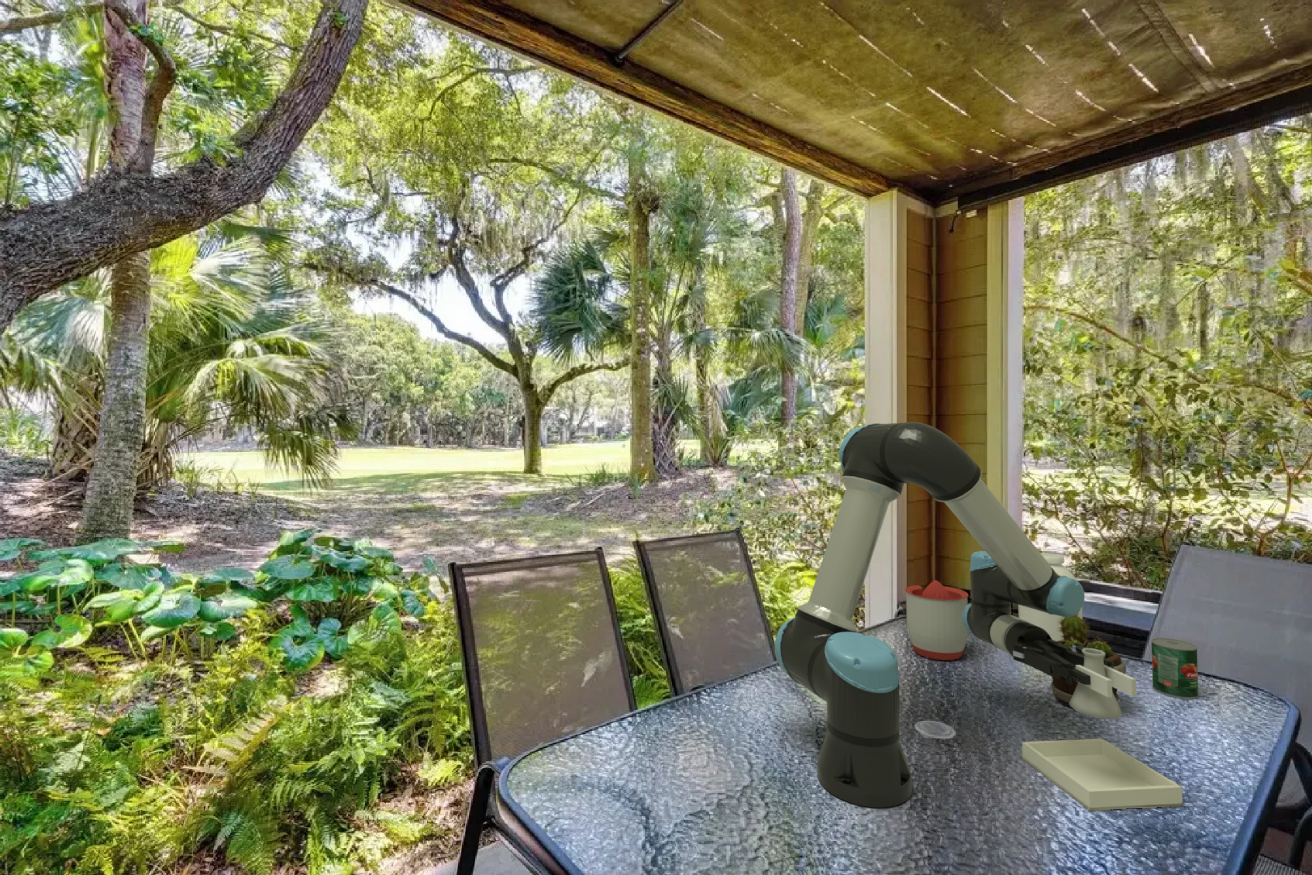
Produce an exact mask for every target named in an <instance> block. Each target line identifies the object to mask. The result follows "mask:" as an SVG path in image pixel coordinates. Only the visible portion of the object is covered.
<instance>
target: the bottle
mask: <svg viewBox="0 0 1312 875" xmlns="http://www.w3.org/2000/svg"><path fill="white" fill-rule="evenodd" d="M1040 553H1041V555H1042V556H1043V557H1044V558H1045V559H1046V561H1047V562H1048V563H1049V564H1050V566H1051V567H1052V568H1053V569H1054V571H1055V572H1056V573H1057V574H1058V575H1060V576H1067V577H1068V578H1072V579H1074V580H1076V581H1078V580H1077V578H1076V577H1075V576H1074V574H1073V573H1072V572H1071V571H1070V570H1069V569H1068V568H1067V567H1066V566H1065V565H1063V564H1065V557H1064V555H1062V554H1057V553H1050V552H1049V553H1048V552H1040ZM1017 607H1018V608H1017V609H1018V618H1020V619H1022V620H1025V621H1027V622H1029V623H1031V624H1033V625H1036V626H1038V627H1040V628H1042V629H1044V630H1045V631H1046V632H1047V633H1048V634H1049V635H1050V637H1051V638H1052V640H1054V641H1060V640H1061V639H1063V638H1062V636H1061V635H1063V634H1062V631H1060V630H1059V628H1061V627H1062V626H1061V624H1060V623H1059V621H1061V620H1063V619H1064V618H1065V617H1062V616H1058V615H1054V614H1053V615H1051V614H1048V613H1046V612H1042V611H1039V610H1036V609H1032V608H1029V607H1025V606H1022V605H1018V604H1017ZM1079 616H1080V617H1079ZM1060 617H1062V618H1060ZM1077 617H1079V618H1081V619H1083V618H1082V617H1083V607H1082V608H1081V609H1080V612H1079V613H1078V616H1077ZM1060 619H1061V620H1060ZM1058 620H1059V621H1058ZM1058 623H1059V624H1058ZM1058 630H1059V632H1058ZM1063 641H1064V640H1063Z"/></svg>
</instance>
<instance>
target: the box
mask: <svg viewBox="0 0 1312 875" xmlns="http://www.w3.org/2000/svg"><path fill="white" fill-rule="evenodd" d="M1021 749H1022V751H1021V752H1022V753H1021V754H1022V760H1023V761H1025V762H1026V763H1027V764H1028V765H1030V766H1031V767H1032V768H1034V769H1035V770H1037V771H1038V772H1039V773H1040V774H1041V775H1043V776H1044V777H1045V778H1046V779H1048V780H1049V781H1051V783H1053V784H1054V785H1055V786H1057V787H1058V788H1059V789H1060V790H1062V791H1063V792H1064V793H1066V794H1067V795H1068V796H1070V797H1071V799H1073V800H1075V801H1076V802H1077V803H1078V804H1080V805H1081V806H1083V807H1084V808H1085V809H1086V810H1088V811H1089V812H1098V811H1099V812H1100V811H1114V810H1113V809H1122V810H1127V809H1126V808H1142V809H1157V807H1162V808H1181V807H1183V786H1181V785H1180V784H1177V782H1174V781H1173V780H1171V779H1169V778H1168V777H1166V776H1164V775H1163V774H1162V773H1159V772H1158V771H1156V770H1154V769H1153V768H1152V767H1150V766H1147V765H1146V764H1145V763H1143V762H1142V761H1141V760H1138V759H1136V758H1135V757H1133V756H1132V755H1130V754H1129V753H1127V752H1125V751H1123V750H1122V749H1120V748H1118V747H1117V746H1115V745H1113V744H1112V743H1110V742H1109V741H1106V740H1105V739H1103V738H1088V739H1086V738H1085V739H1065V740H1064V739H1062V740H1041V741H1037V740H1036V741H1022V742H1021ZM1170 806H1171V807H1170ZM1111 809H1112V810H1111Z"/></svg>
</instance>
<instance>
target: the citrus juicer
mask: <svg viewBox="0 0 1312 875" xmlns="http://www.w3.org/2000/svg"><path fill="white" fill-rule="evenodd" d="M904 589H905V590H904V591H905V594H906V595H905V596H906V598H905V599H906V600H905V602H906V625H907V626H906V627H907V632H908V636H909V639H910V644H911V646H912V649H913V651H914V652H915V653H917V654H918V655H919V654H920V656H924V657H923V658H925V657H928V658H927V659H933V660H939V661H940V660H941V661H956V660H955V659H957V660H958V659H960V658H962V655H963V654H964V651H965V649H966V648H965V647H966V644H967V640H968V633H969V631H968V630H967V629H966V628H965V627H964V625H963V623H962V613H963V611H964V608H965V607H966V606H967V605H968V604H969V603H968V597H969V594H968V592H966V591H965V590H962V589H959V588H955V587H949V586H944V585H943V584H942V583H941V582H940V581H938V580H936V579H935V580H933V581H931V582H930V583H929V584H928V585H927V586H926V587H925V588H924V589H923V587H922V586H921V585H919V584H917V585H916V584H915V585H910V586H907V587H906V588H904Z"/></svg>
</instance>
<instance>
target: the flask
mask: <svg viewBox="0 0 1312 875" xmlns="http://www.w3.org/2000/svg"><path fill="white" fill-rule="evenodd" d="M1082 653H1083V654H1084V666H1083V667H1085V668H1087V669H1089V670H1091V671H1094V672H1096V673H1098V674H1100V675H1102V676H1104V677H1106V673H1105V668H1104V661H1103V658H1104V656H1105V652H1103V651H1102V650H1097V649H1091V648H1084V649H1082ZM1106 678H1107V677H1106ZM1069 705H1070V706H1069V707H1071V708H1072V709H1074V711H1076V712H1077V713H1080V714H1083V715H1086V716H1091V717H1094V718H1099V719H1110V720H1119V718H1121V716H1122V715H1123V713H1122V710H1121V708H1120V705H1119V702H1118V703H1117V700H1116V698H1115V696H1114V694H1113V691H1112V697H1106V696H1104V695H1102V694H1100V693H1098V692H1096V691H1094V690H1092V689H1091V688H1089V687H1087V686H1085V685H1083V684H1081V683H1079V682H1078V684H1077V687H1076V689H1075V691H1074V694H1073V696H1072V698H1071V700H1070V703H1069Z"/></svg>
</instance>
